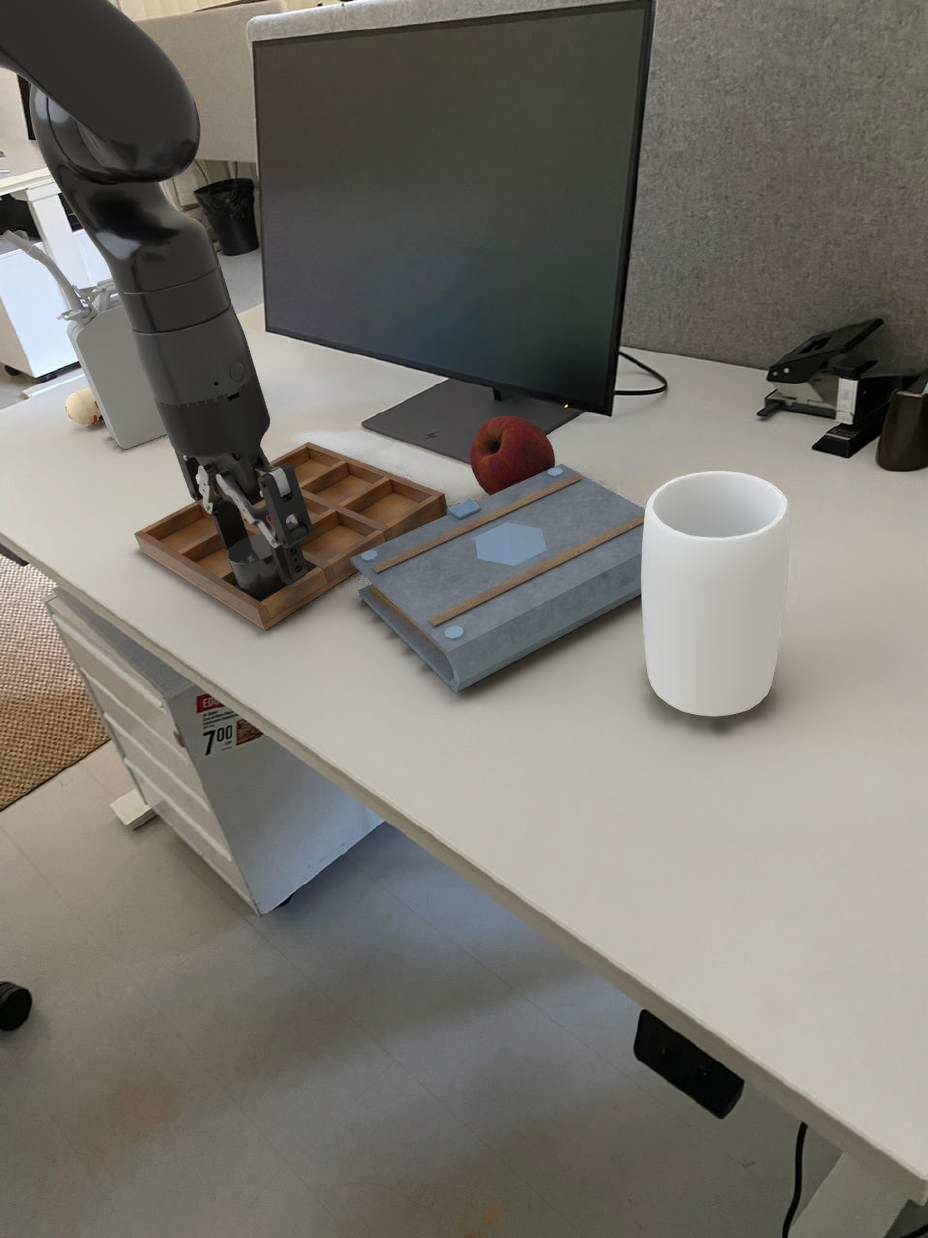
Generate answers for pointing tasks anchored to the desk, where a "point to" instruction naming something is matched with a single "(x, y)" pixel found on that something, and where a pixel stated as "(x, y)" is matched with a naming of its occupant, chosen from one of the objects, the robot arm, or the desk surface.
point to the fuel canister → (106, 355)
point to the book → (507, 573)
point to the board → (343, 528)
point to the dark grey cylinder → (255, 567)
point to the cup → (714, 590)
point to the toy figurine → (83, 407)
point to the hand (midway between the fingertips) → (265, 562)
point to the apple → (509, 453)
